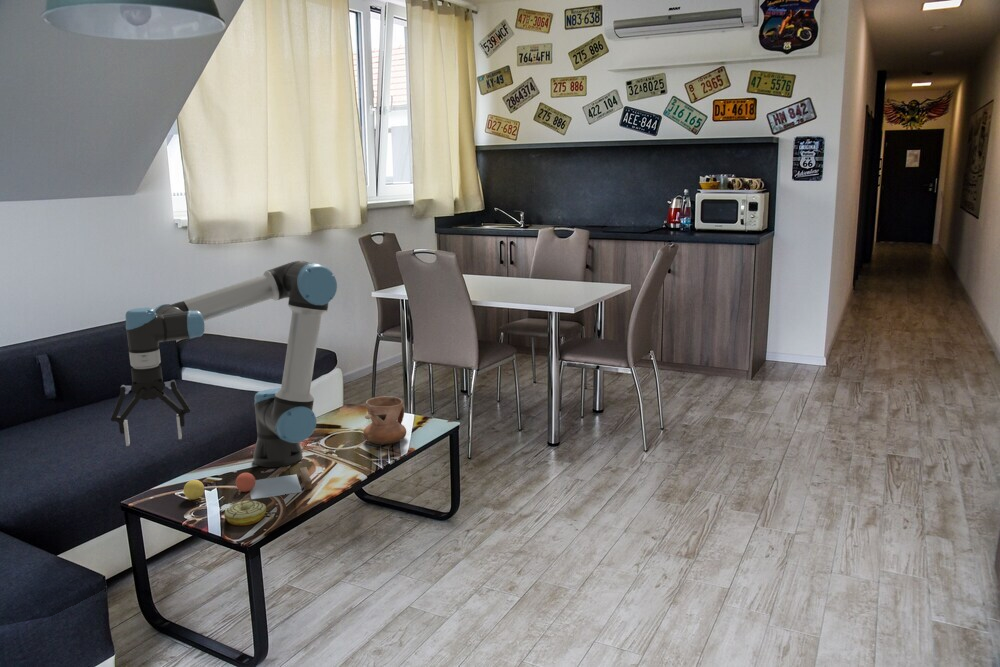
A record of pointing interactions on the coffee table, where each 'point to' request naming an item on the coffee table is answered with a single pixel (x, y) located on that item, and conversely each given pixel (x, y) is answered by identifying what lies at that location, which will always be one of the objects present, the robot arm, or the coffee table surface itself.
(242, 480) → the object ball
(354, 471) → the coffee table surface
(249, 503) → the decorated donut
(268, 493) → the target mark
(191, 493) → the yellow ball
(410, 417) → the coffee table surface
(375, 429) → the ceramic jug
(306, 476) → the stopper strip
